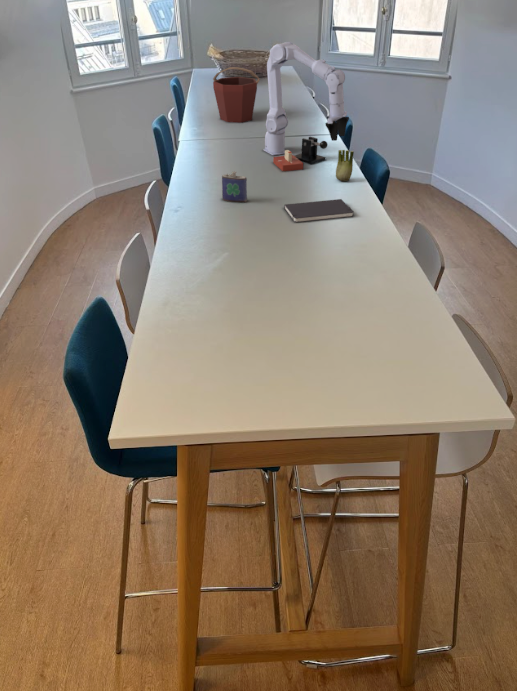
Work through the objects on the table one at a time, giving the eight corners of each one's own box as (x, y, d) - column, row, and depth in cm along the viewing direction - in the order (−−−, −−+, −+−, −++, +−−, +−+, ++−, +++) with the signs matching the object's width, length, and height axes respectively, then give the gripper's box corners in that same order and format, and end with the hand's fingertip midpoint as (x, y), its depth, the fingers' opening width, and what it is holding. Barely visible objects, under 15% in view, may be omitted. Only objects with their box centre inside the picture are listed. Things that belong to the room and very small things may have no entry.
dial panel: (273, 162, 245) (273, 156, 243) (293, 160, 247) (293, 154, 245) (282, 171, 235) (282, 165, 234) (303, 169, 238) (303, 162, 236)
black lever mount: (325, 160, 248) (326, 139, 242) (311, 164, 243) (312, 143, 238) (306, 154, 254) (307, 134, 249) (292, 158, 249) (293, 138, 244)
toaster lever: (329, 148, 240) (329, 140, 238) (324, 150, 238) (323, 142, 236) (309, 145, 247) (309, 137, 245) (304, 147, 245) (304, 139, 244)
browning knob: (284, 158, 241) (284, 149, 239) (288, 158, 242) (288, 149, 240) (288, 161, 238) (288, 152, 236) (291, 161, 238) (292, 152, 236)
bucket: (266, 117, 308) (267, 66, 293) (244, 126, 293) (243, 73, 278) (229, 111, 319) (227, 62, 304) (205, 120, 303) (202, 68, 289)
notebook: (340, 203, 207) (284, 208, 203) (341, 198, 206) (284, 204, 202) (353, 216, 197) (294, 222, 193) (354, 212, 196) (294, 218, 192)
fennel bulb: (352, 180, 226) (355, 150, 219) (345, 184, 223) (347, 152, 216) (340, 177, 229) (343, 147, 222) (333, 180, 226) (335, 149, 219)
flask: (247, 200, 209) (247, 171, 203) (245, 203, 207) (244, 174, 201) (223, 198, 211) (222, 169, 205) (221, 200, 209) (219, 171, 203)
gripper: (338, 106, 224) (339, 142, 231) (352, 99, 234) (354, 134, 241) (321, 107, 228) (323, 142, 234) (337, 100, 238) (338, 134, 245)
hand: (338, 138), depth 238 cm, fingers open, 7 cm apart
